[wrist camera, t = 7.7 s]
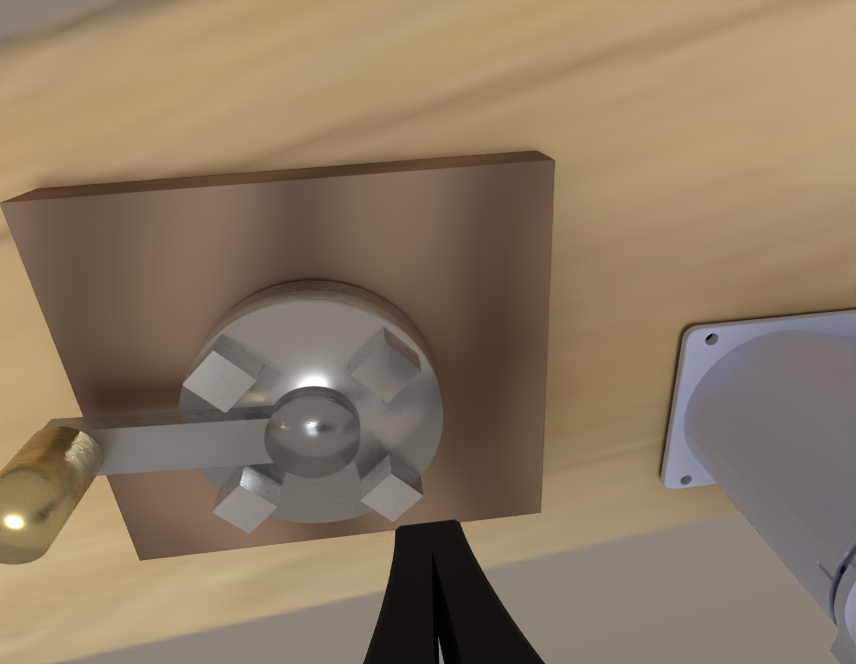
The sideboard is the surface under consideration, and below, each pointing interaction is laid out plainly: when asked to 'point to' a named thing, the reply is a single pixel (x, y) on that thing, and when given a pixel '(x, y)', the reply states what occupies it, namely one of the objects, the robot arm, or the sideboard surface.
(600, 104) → the sideboard surface
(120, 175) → the sideboard surface
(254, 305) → the grey crank wheel
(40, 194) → the base plate
